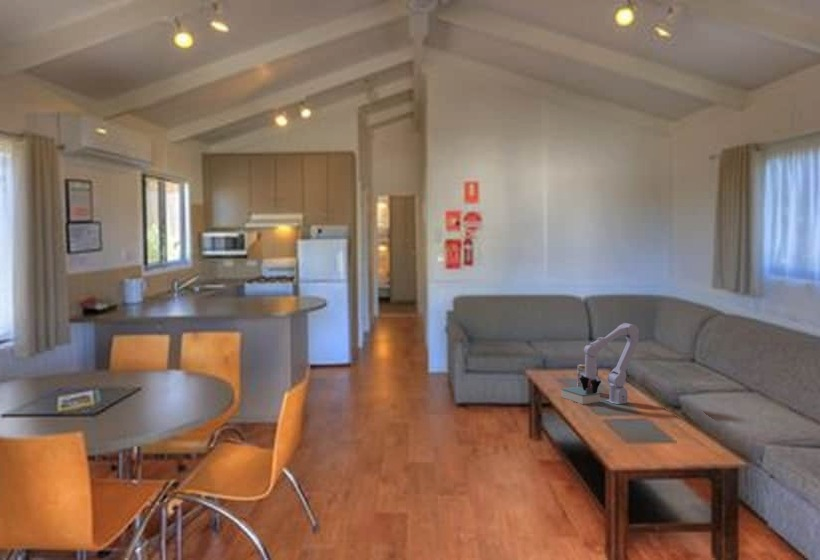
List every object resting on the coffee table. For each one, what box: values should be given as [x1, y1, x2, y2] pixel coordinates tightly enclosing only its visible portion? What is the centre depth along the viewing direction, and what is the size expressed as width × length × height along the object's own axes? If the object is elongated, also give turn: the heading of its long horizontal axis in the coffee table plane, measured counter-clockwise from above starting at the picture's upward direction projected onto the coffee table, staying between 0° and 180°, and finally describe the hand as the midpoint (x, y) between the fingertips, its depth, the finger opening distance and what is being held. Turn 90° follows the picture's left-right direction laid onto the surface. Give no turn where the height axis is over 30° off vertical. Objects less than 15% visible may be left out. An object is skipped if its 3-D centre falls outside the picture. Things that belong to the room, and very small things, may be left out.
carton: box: [561, 389, 601, 406], centre depth 383 cm, size 18×12×4 cm, turn 26°
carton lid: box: [561, 385, 601, 396], centre depth 383 cm, size 18×12×4 cm, turn 26°
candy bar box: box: [576, 363, 599, 388], centre depth 400 cm, size 11×5×16 cm, turn 84°
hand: (590, 391), depth 375 cm, fingers open, 7 cm apart
